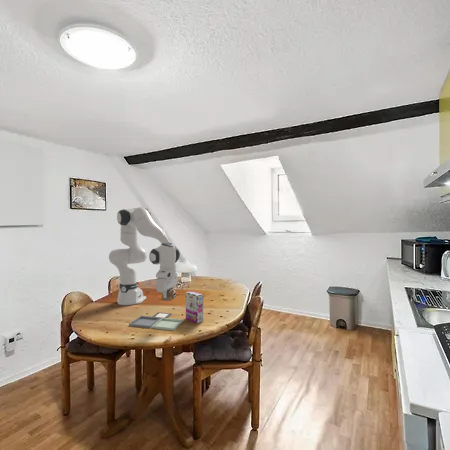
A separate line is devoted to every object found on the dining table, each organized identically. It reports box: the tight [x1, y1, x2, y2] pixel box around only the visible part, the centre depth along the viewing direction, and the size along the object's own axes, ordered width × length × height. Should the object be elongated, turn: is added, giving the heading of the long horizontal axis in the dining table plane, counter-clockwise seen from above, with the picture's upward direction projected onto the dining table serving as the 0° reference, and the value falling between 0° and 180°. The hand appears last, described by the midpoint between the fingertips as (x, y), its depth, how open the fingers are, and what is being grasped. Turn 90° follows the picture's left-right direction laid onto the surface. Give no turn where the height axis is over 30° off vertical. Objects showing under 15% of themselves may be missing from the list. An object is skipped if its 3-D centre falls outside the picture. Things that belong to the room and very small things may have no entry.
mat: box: [151, 311, 173, 318], centre depth 171 cm, size 10×10×1 cm
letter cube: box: [161, 289, 175, 302], centre depth 156 cm, size 5×5×5 cm
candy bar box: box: [185, 290, 204, 324], centre depth 164 cm, size 11×5×16 cm, turn 44°
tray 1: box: [128, 315, 161, 329], centre depth 159 cm, size 13×13×2 cm
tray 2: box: [151, 317, 184, 331], centre depth 156 cm, size 13×13×2 cm
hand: (167, 296), depth 156 cm, fingers closed on letter cube, 5 cm apart
